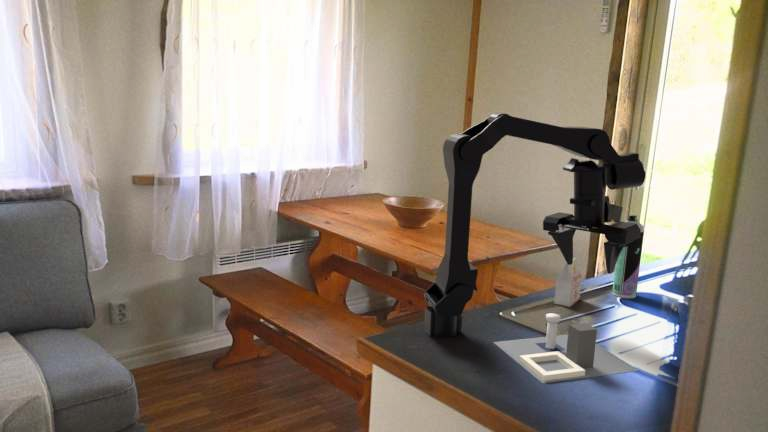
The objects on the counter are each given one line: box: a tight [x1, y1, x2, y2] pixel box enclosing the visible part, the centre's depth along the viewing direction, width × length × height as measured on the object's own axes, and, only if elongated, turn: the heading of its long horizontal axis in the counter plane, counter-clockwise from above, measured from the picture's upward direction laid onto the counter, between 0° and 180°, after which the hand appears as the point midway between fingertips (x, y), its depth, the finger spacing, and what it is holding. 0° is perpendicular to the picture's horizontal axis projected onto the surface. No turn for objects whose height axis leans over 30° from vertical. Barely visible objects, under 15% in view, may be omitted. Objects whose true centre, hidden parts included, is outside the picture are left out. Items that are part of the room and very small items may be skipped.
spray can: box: [612, 214, 645, 299], centre depth 148 cm, size 6×6×20 cm
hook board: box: [492, 313, 640, 384], centre depth 109 cm, size 19×17×8 cm
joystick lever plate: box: [519, 322, 598, 381], centre depth 104 cm, size 11×8×7 cm
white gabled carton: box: [553, 257, 583, 308], centre depth 143 cm, size 4×7×10 cm, turn 145°
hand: (589, 268), depth 122 cm, fingers open, 9 cm apart
